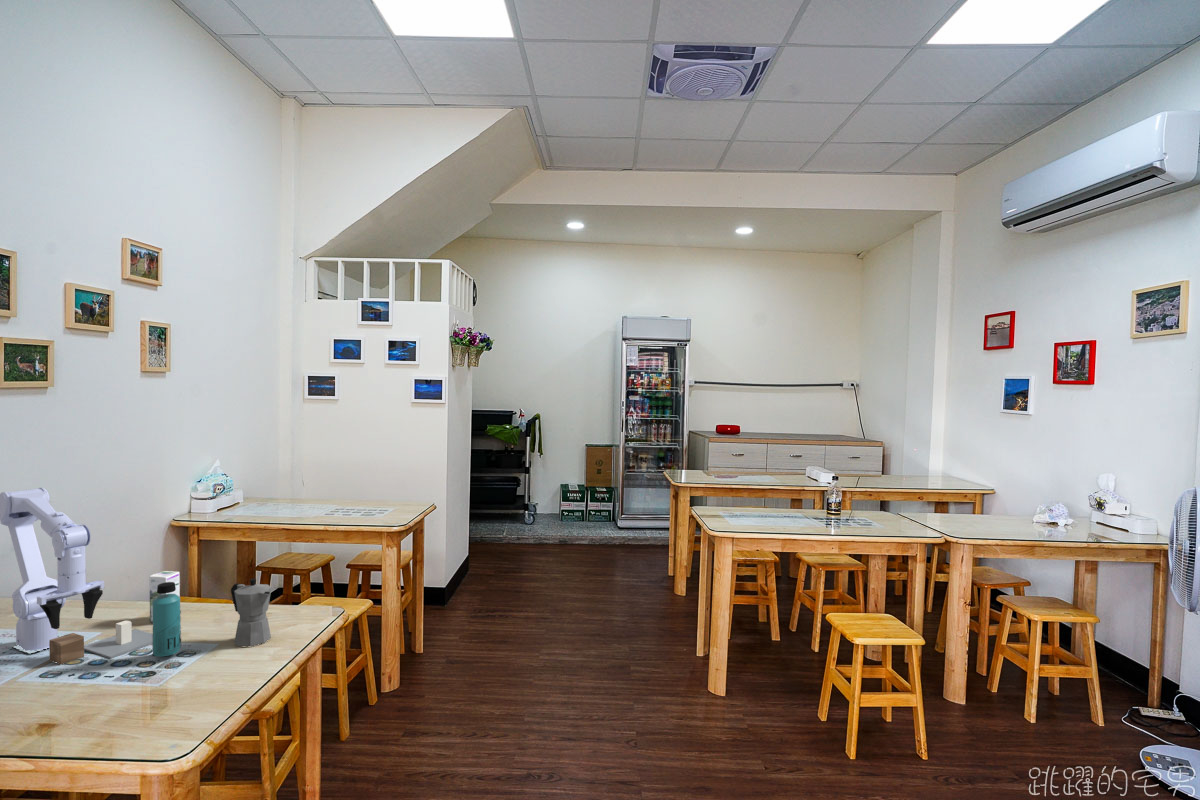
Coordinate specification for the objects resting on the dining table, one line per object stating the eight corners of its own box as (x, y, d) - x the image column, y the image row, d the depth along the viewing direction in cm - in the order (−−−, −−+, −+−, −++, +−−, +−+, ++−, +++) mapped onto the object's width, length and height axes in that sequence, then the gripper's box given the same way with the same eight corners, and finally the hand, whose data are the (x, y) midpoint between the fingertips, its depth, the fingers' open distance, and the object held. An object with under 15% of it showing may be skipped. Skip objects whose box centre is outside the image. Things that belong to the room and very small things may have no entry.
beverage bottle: (166, 663, 163) (166, 588, 162) (145, 660, 164) (145, 586, 164) (187, 653, 169) (187, 580, 169) (167, 650, 171) (166, 578, 170)
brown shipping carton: (49, 660, 163) (49, 639, 163) (72, 653, 168) (72, 632, 168) (60, 664, 161) (60, 643, 161) (84, 656, 166) (83, 636, 166)
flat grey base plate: (80, 648, 171) (80, 627, 171) (135, 630, 184) (135, 610, 183) (110, 658, 165) (110, 636, 165) (165, 639, 178) (165, 618, 178)
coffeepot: (283, 638, 180) (283, 577, 179) (253, 651, 171) (254, 587, 170) (246, 629, 186) (246, 570, 185) (216, 641, 177) (216, 579, 177)
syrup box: (180, 616, 195) (180, 570, 194) (165, 623, 189) (165, 576, 189) (163, 615, 195) (163, 569, 195) (148, 622, 190) (148, 575, 189)
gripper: (48, 582, 156) (49, 635, 156) (111, 566, 170) (111, 615, 170) (31, 578, 159) (32, 631, 159) (94, 563, 172) (95, 612, 172)
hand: (72, 622), depth 165 cm, fingers open, 7 cm apart
